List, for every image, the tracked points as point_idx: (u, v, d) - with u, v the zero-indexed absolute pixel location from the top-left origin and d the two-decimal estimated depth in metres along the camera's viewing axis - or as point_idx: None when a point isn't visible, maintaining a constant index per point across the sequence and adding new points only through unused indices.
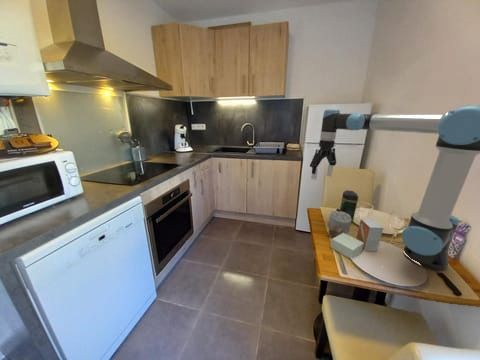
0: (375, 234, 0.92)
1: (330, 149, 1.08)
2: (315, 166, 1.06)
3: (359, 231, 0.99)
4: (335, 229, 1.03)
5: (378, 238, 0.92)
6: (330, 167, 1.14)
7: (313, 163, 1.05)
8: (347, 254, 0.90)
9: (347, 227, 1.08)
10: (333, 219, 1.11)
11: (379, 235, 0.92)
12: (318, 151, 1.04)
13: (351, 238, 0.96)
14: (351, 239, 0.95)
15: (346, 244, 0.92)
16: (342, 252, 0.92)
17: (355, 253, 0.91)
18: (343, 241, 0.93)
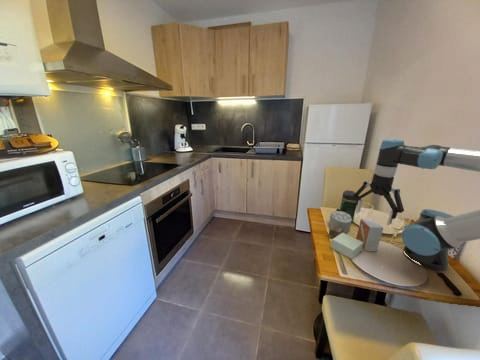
0: (375, 234, 0.92)
1: (386, 188, 0.86)
2: (357, 197, 0.97)
3: (359, 231, 0.99)
4: (335, 229, 1.03)
5: (378, 238, 0.92)
6: None
7: None
8: (348, 255, 0.90)
9: (347, 227, 1.08)
10: (333, 219, 1.11)
11: (379, 235, 0.92)
12: None
13: (351, 238, 0.96)
14: (351, 239, 0.95)
15: (347, 244, 0.91)
16: (342, 252, 0.92)
17: (355, 253, 0.91)
18: (343, 242, 0.93)
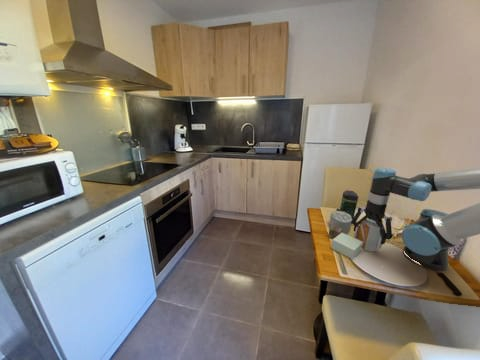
0: (375, 234, 0.92)
1: (379, 214, 0.90)
2: (354, 224, 1.00)
3: (359, 231, 0.99)
4: (335, 229, 1.03)
5: (378, 238, 0.92)
6: None
7: None
8: (348, 255, 0.90)
9: (348, 227, 1.08)
10: (334, 219, 1.11)
11: (379, 235, 0.92)
12: None
13: (350, 238, 0.96)
14: (351, 239, 0.96)
15: (347, 244, 0.91)
16: (343, 252, 0.92)
17: (356, 253, 0.91)
18: (343, 242, 0.93)
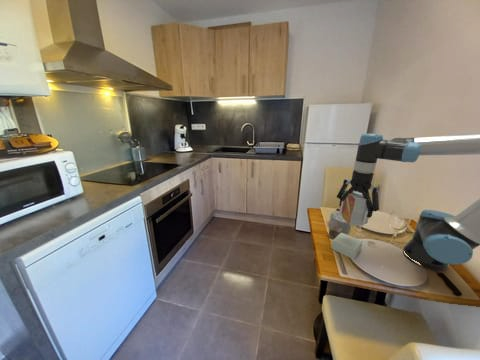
0: (361, 207, 0.85)
1: (366, 184, 0.83)
2: (340, 198, 0.93)
3: (345, 205, 0.92)
4: (335, 229, 1.03)
5: (364, 211, 0.85)
6: None
7: None
8: (349, 255, 0.90)
9: (348, 227, 1.08)
10: (334, 219, 1.11)
11: (365, 208, 0.85)
12: None
13: (350, 238, 0.97)
14: (350, 239, 0.96)
15: (348, 244, 0.91)
16: (344, 253, 0.92)
17: (356, 253, 0.91)
18: (344, 242, 0.93)
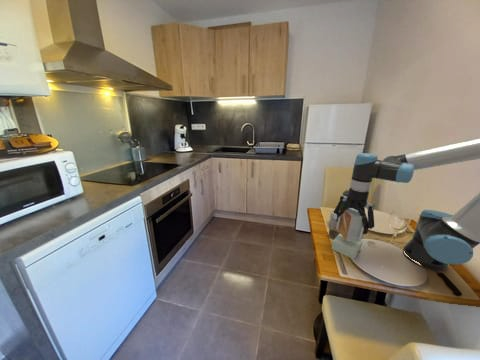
0: (357, 223, 0.87)
1: (361, 202, 0.85)
2: (337, 213, 0.95)
3: (342, 221, 0.94)
4: (335, 229, 1.03)
5: (360, 228, 0.87)
6: None
7: None
8: (350, 255, 0.90)
9: None
10: (334, 219, 1.11)
11: (361, 224, 0.87)
12: None
13: None
14: None
15: (348, 244, 0.91)
16: (344, 253, 0.91)
17: (356, 253, 0.91)
18: (344, 242, 0.93)
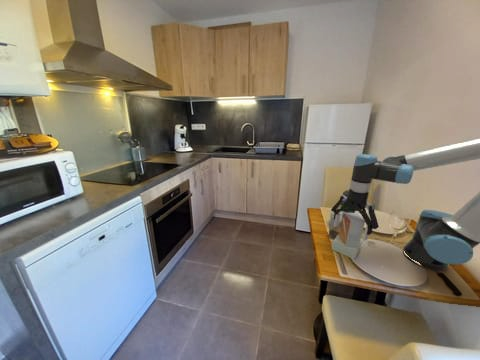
0: (356, 228, 0.88)
1: (361, 203, 0.85)
2: (335, 211, 0.96)
3: (341, 225, 0.95)
4: (335, 229, 1.03)
5: (360, 232, 0.88)
6: None
7: None
8: (350, 255, 0.90)
9: None
10: (334, 219, 1.11)
11: (361, 229, 0.88)
12: None
13: None
14: None
15: None
16: (344, 253, 0.91)
17: (356, 253, 0.91)
18: None
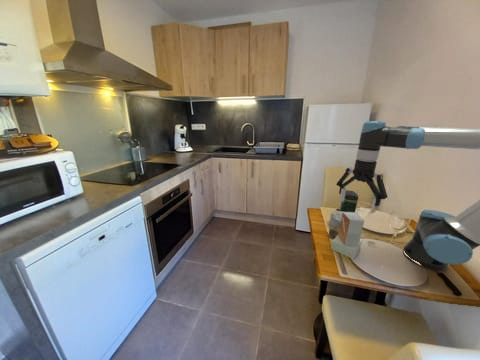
0: (356, 227, 0.88)
1: (368, 173, 0.81)
2: (340, 185, 0.92)
3: (341, 225, 0.95)
4: (335, 229, 1.03)
5: (359, 232, 0.88)
6: None
7: None
8: (349, 255, 0.90)
9: None
10: (334, 219, 1.11)
11: (360, 228, 0.88)
12: None
13: None
14: None
15: None
16: (344, 253, 0.91)
17: (356, 252, 0.91)
18: None
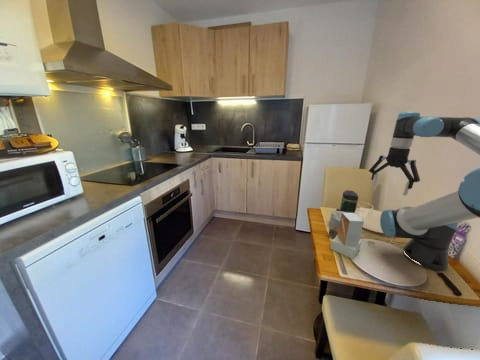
0: (355, 228, 0.88)
1: (402, 159, 0.90)
2: (373, 171, 1.01)
3: (340, 225, 0.95)
4: (335, 229, 1.03)
5: (359, 232, 0.88)
6: None
7: None
8: (349, 255, 0.90)
9: None
10: (334, 219, 1.11)
11: (360, 229, 0.88)
12: None
13: None
14: None
15: None
16: (343, 253, 0.91)
17: (356, 252, 0.91)
18: None
